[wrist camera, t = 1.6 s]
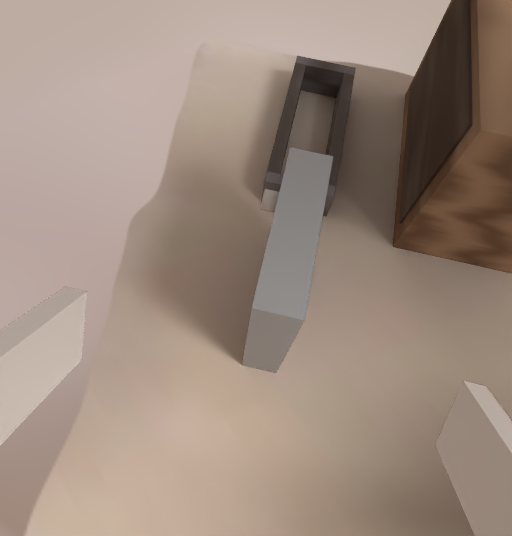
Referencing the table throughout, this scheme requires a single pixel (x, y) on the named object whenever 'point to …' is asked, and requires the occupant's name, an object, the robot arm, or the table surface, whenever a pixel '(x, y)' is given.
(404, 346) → the table surface
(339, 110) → the cabinet
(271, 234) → the door
